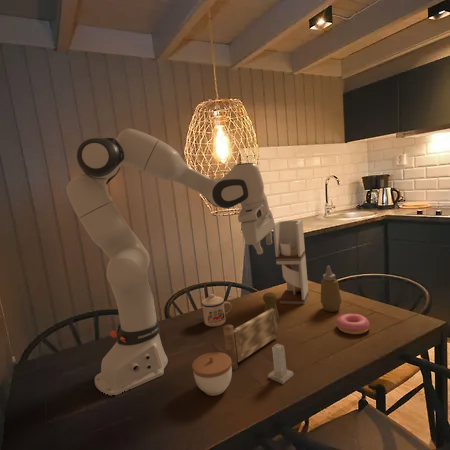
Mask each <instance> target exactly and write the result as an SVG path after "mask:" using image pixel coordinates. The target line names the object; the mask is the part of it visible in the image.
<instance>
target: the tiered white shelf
mask: <svg viewBox="0 0 450 450" xmlns="http://www.w3.org/2000/svg"><path fill="white" fill-rule="evenodd" d="M272 231H273V233H272V234H273V243H274V253H275V254H274V255H275V261H276V262H275V263H276V265H281V270H282V271H281V272H282V279H284V281H285V282H286V288H287V289H285V290H284V292H283V293H282V294H281V296H280V298H279V304H283V305H284V304H285V305H286V304H287V305H288V304H289V305H306V301H307V299H308V298H309V284H308V283H309V282H308V281H309V280H308V273H307V272H308V270H307V257H306V247H305V246H306V245H305V237H304V224H303V219H297V220H295V219H293V220H279V221H277V222H276V223H275V228H274V229H273V230H272Z"/></svg>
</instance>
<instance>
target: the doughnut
mask: <svg viewBox="0 0 450 450" xmlns="http://www.w3.org/2000/svg"><path fill="white" fill-rule="evenodd" d="M368 319H369V318H367V317H365V316H364V315H361V314H359V313H345V314H341V315H339V316H338V317H337V319H336V323H335V324H336V326H337V328H338V329H339V330H340V332H342V333H344V334H349V335H362V334H365V333H366V332H367V331H369V329H370V326H371V325H370V321H369V320H368Z"/></svg>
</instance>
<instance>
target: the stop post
mask: <svg viewBox="0 0 450 450" xmlns="http://www.w3.org/2000/svg"><path fill="white" fill-rule="evenodd" d="M271 350H272V361H273V370H272V371H270V372H269V373H268V374H267V378H269V379H271V380H273V381H275V382H277V383H279V384H281V385H284V384H285V383H286V382H287V381H288V380H290V379H291V378H292V377H294V375H295V374H294V371H292V370H289V369H288V368H287V361H286V352H285V351H286V350H285V345H283V344H280V343H276V344H274V345H273V346H272V347H271Z"/></svg>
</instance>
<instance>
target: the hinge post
mask: <svg viewBox="0 0 450 450" xmlns="http://www.w3.org/2000/svg"><path fill="white" fill-rule="evenodd" d="M222 329H223V338H224V347H225V354H227V355H228V356H229V357H230V358H231V361H232V371H235V370H237V369H238V368H239V366H238V365H239V364H238V362H237V356H236V347H235V339H234V325H232V324H226V325H223V327H222Z"/></svg>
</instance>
